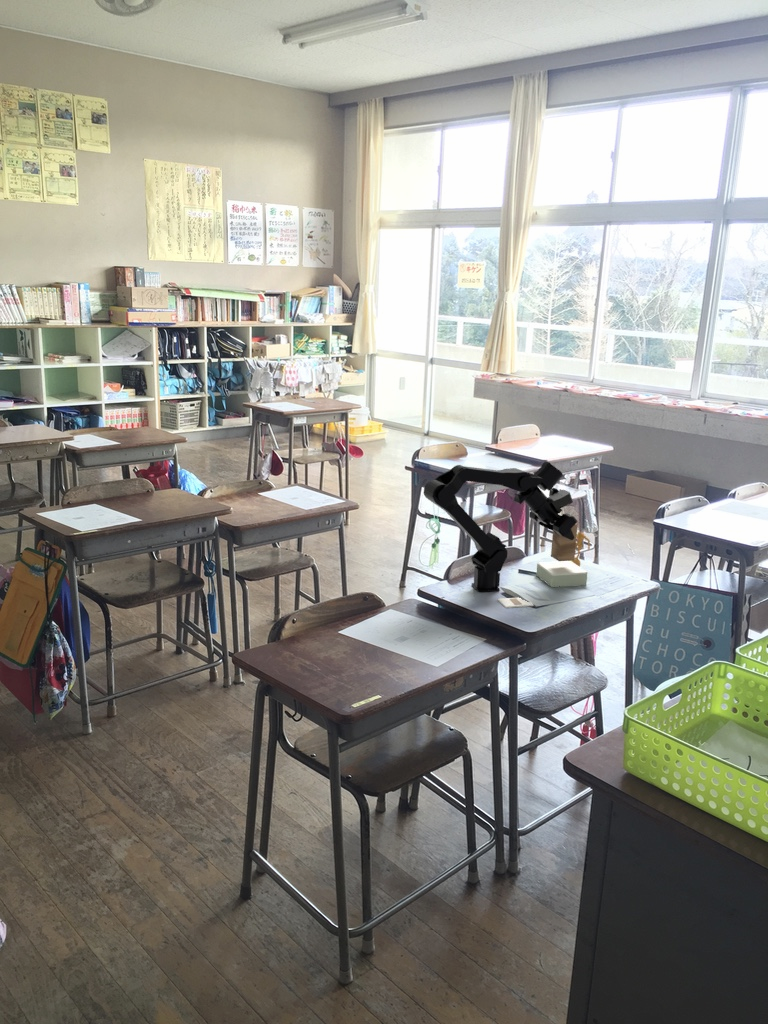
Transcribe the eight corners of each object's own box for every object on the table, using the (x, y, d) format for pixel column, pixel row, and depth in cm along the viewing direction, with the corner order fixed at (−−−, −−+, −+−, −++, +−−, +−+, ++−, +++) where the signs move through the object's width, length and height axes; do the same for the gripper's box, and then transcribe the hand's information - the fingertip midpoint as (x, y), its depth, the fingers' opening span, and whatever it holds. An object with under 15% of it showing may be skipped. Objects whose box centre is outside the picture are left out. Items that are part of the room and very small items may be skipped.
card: (505, 607, 220) (505, 606, 220) (497, 600, 225) (498, 598, 225) (533, 606, 222) (533, 604, 221) (524, 598, 227) (524, 596, 227)
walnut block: (574, 560, 240) (577, 524, 237) (559, 561, 238) (562, 525, 236) (565, 555, 245) (568, 519, 242) (550, 556, 243) (553, 520, 240)
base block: (551, 587, 237) (552, 574, 236) (536, 575, 247) (537, 562, 246) (586, 585, 239) (587, 572, 238) (569, 573, 250) (570, 560, 249)
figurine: (558, 567, 255) (561, 531, 252) (569, 563, 259) (572, 527, 256) (581, 574, 249) (584, 536, 246) (592, 570, 253) (595, 533, 250)
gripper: (573, 488, 226) (604, 525, 232) (541, 475, 243) (570, 509, 249) (546, 517, 226) (578, 553, 232) (515, 502, 243) (545, 535, 249)
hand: (568, 536), depth 240 cm, fingers closed on walnut block, 5 cm apart
